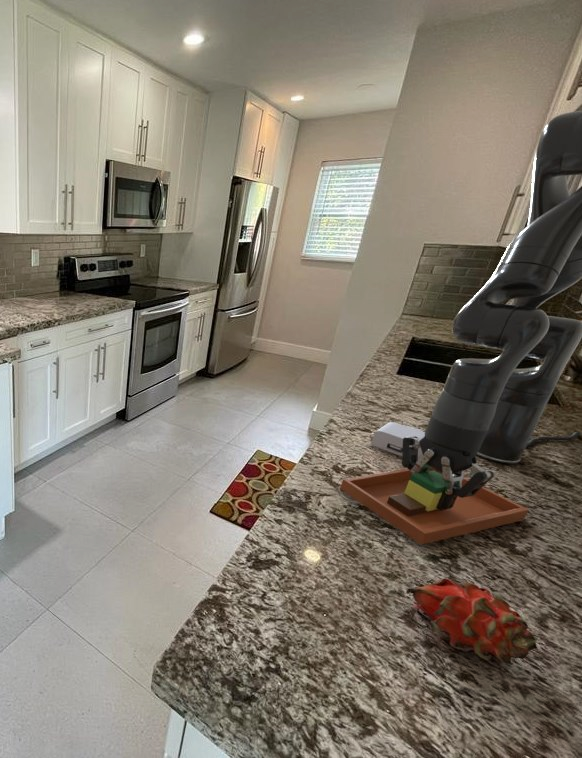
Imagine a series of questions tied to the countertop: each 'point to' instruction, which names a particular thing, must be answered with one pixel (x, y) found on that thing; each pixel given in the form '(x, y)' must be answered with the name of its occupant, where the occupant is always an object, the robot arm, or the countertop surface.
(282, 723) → the countertop surface
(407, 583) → the countertop surface
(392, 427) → the charger
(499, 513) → the pan
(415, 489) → the sponge
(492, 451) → the robot arm
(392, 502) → the block
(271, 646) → the countertop surface
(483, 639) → the dragon fruit
